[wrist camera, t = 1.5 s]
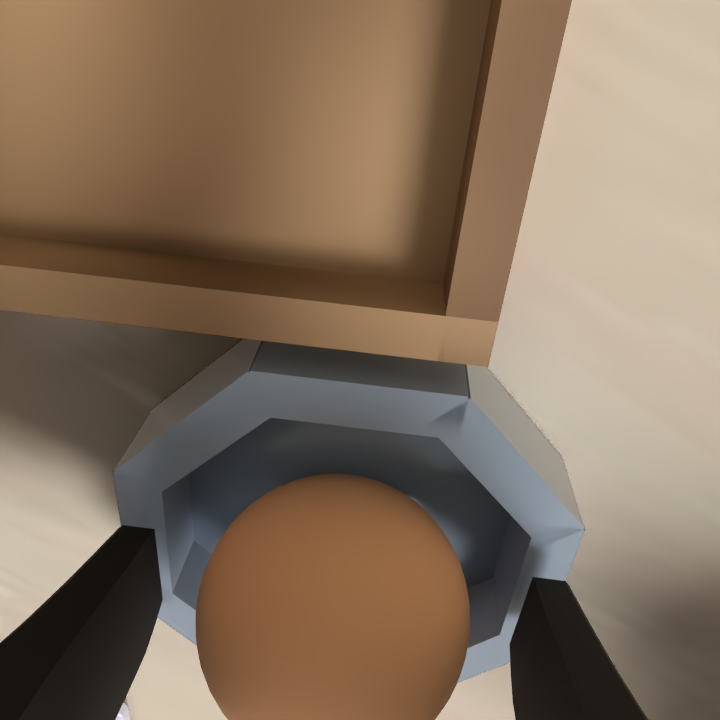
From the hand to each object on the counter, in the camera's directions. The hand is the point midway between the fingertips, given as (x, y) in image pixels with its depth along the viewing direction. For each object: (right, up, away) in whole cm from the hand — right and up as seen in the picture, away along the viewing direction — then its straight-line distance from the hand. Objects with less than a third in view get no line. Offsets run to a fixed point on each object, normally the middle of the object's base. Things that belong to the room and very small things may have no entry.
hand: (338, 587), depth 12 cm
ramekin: (0, +1, +2) cm, 2 cm away
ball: (0, +1, +2) cm, 2 cm away
